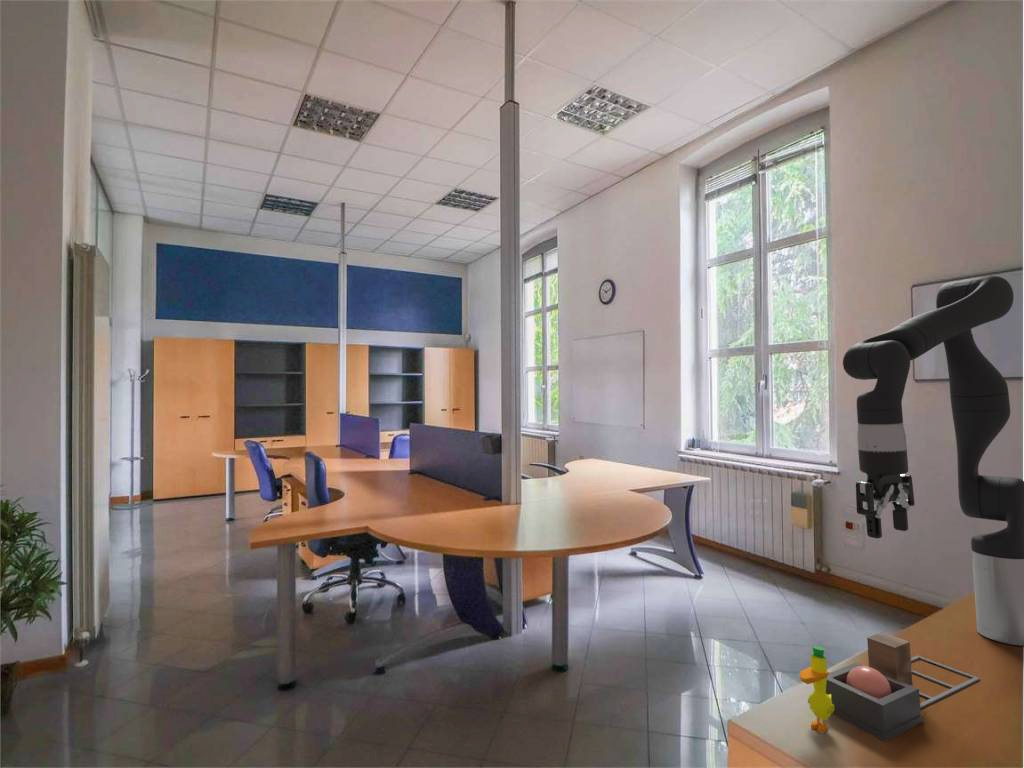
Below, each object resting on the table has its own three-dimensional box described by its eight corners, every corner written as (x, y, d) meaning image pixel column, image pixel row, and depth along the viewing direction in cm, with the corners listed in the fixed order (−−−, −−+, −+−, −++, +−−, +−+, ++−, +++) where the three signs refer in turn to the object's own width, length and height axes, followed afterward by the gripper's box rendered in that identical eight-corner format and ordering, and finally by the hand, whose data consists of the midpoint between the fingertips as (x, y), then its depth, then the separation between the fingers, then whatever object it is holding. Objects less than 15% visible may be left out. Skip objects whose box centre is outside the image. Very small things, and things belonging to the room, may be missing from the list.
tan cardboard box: (885, 684, 92) (881, 632, 93) (913, 695, 88) (909, 641, 89) (870, 690, 90) (867, 637, 91) (898, 703, 86) (895, 647, 87)
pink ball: (861, 692, 87) (859, 655, 88) (901, 710, 82) (898, 671, 82) (839, 702, 85) (837, 664, 85) (878, 721, 79) (876, 681, 80)
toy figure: (815, 741, 77) (811, 658, 78) (793, 728, 80) (789, 649, 81) (844, 728, 80) (839, 648, 81) (821, 716, 83) (817, 639, 84)
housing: (857, 691, 90) (855, 661, 90) (923, 722, 81) (921, 689, 81) (819, 707, 86) (818, 676, 86) (885, 741, 77) (883, 706, 77)
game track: (917, 656, 101) (917, 655, 101) (979, 679, 93) (979, 678, 93) (848, 685, 92) (848, 683, 92) (910, 713, 83) (910, 711, 83)
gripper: (881, 452, 92) (887, 545, 91) (925, 445, 98) (932, 531, 98) (838, 449, 99) (844, 535, 98) (882, 442, 105) (888, 523, 104)
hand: (888, 533), depth 98 cm, fingers open, 8 cm apart
